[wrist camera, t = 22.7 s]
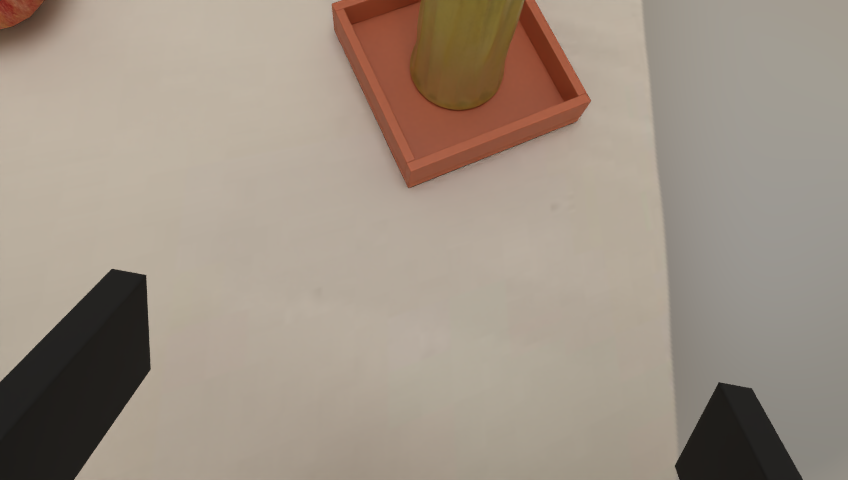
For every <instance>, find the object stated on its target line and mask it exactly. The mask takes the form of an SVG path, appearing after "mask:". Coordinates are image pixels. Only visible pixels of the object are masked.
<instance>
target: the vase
mask: <svg viewBox="0 0 848 480" xmlns="http://www.w3.org/2000/svg"><path fill="white" fill-rule="evenodd" d="M523 4H524V0H421V2H420V9H419V16H418V24H417V40H416V44H415V45H414V48H413V51H412V54H411V59H410V73H411V77H412V80H413V82H414V84H415V86H416V87H417V89H418V90H419V91H420V93H421V94H422V95H423V96H424V97H425V98H426V99H428V100H429V101H431V102H432V103H434V104H436V105H438V106H441V107H443V108H447V109H452V110H466V109H471V108H475V107H477V106H480V105H482V104H484V103H485V102H487V101H488V100H489V99H490V98H492V97H493V96H494V95H495V94H496V92H497V91H498V89H499V87H500V84H501V82H502V79H503V75H504V66H505V60H506V56H507V53H508V49H509V46H510V43H511V41H512V38H513V35H514V33H515V30H516V27H517V23H518V20H519V17H520V14H521V10H522V7H523Z"/></svg>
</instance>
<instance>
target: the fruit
mask: <svg viewBox="0 0 848 480" xmlns="http://www.w3.org/2000/svg"><path fill="white" fill-rule="evenodd" d="M43 1H44V0H0V29H4V28H8V27H12V26H14V25H16V24H18V23H20V22H22V21H24V20H25V19H27V18H29V17H31V15H32V14H33V13H34V12H35V11H36V10H37V9H38V7H39V6H40V5H41V4H42V3H43Z"/></svg>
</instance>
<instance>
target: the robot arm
mask: <svg viewBox="0 0 848 480" xmlns="http://www.w3.org/2000/svg"><path fill="white" fill-rule="evenodd" d="M150 369H151V368H150V347H149V326H148V305H147V284H146V275H143V274H137V273H132V272H127V271H121V270H116V269H111V270H110V271H109V272H108V273H107V274H106V275H105V276H104V277H103V278H102V279H101V281H100V282H99V283H98V284H97V285H96V286H95V287H94V288H93V289H92V290H91V291H90V292H89V293H88V294H87V295H86V296H85V297H84V298H83V299H82V300H81V301H80V302H79V303H78V304H77V305H76V306H75V307H74V308H73V309H72V310H71V311H70V312H69V313H68V314H67V315H66V316H65V317H64V318H63V319H62V320H61V321H60V322H59V323H58V324H57V325H56V326H55V327H54V328H53V329H52V330H51V331H50V332H49V333H48V334H47V335H46V336H45V337H44V338H43V339H42V340H41V341H40V342H39V343H38V344H37V345H36V346H35V347H34V348H33V349H32V350H31V351H30V352H29V353H28V354H27V355H26V357H25V358H24V359H23V360H22V361H21V362H20V363H19V364H18V365H17V366H16V367H15V368H14V369H13V370H12V371H11V372H10V373H9V374H8V375H7V376H6V377H5V378H4V379H3V380H2V381H1V382H0V480H74V479H75V477H76V476H77V475H78V473H79V472H80V470H81V469H82V467H83V466H84V464H85V463H86V462H87V460H88V459H89V457H90V456H91V454H92V453H93V451H94V450H95V449H96V447H97V446H98V444H99V443H100V441H101V440H102V439H103V437H104V436H105V434H106V433H107V431H108V430H109V428H110V427H111V426H112V424H113V423H114V421H115V420H116V418H117V417H118V415H119V414H120V413H121V411H122V410H123V408H124V407H125V405H126V404H127V403H128V401H129V400H130V398H131V397H132V395H133V394H134V392H135V391H136V390H137V388H138V387H139V385H140V384H141V382H142V381H143V379H144V378H145V377H146V375H147V374H148V372H149V371H150ZM675 468H676V471H677V474H678V477H679V479H680V480H803V479H802V477H801V475H800V474H799V472H798V471H797V469H796V467H795V465H794V463H793V461H792V459H791V458H790V456H789V454H788V452H787V451H786V449H785V447H784V445H783V443H782V442H781V440H780V438H779V436H778V434H777V433H776V431H775V429H774V427H773V425H772V424H771V422H770V420H769V419H768V417H767V415H766V413H765V412H764V409H763V408H762V406H761V404H760V402H759V401H758V399H757V397H756V395H755V393H754V392H753V390H752V388H746V387H741V386H736V385H730V384H725V383H720V382H719V383H718V385H717V387H716V389H715V391H714V393H713V395H712V396H711V398H710V400H709V402H708V404H707V406H706V408H705V410H704V412H703V414H702V415H701V417H700V419H699V421H698V423H697V425H696V427H695V429H694V431H693V433H692V434H691V436H690V438H689V440H688V442H687V444H686V446H685V448H684V450H683V452H682V453H681V455H680V457H679V459H678V461H677V463H676V465H675Z"/></svg>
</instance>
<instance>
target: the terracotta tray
mask: <svg viewBox="0 0 848 480" xmlns="http://www.w3.org/2000/svg"><path fill="white" fill-rule="evenodd" d="M420 2H421V0H342V1H339V2H336V3H333V4H332V11H333V21H334V30H335V32H336V34H337V37H338V39H339V41H340V43H341V45H342V47H343V49H344V52H345V54H346V56H347V58H348V60H349V62H350V64H351V67H352V69H353V71H354V73H355V75H356V77H357V79H358V82H359V84H360V86H361V88H362V90H363V92H364V94H365V96H366V99H367V101H368V103H369V105H370V107H371V109H372V111H373V114H374V116H375V118H376V120H377V122H378V124H379V126H380V129H381V131H382V133H383V135H384V137H385V139H386V141H387V144H388V146H389V148H390V150H391V152H392V154H393V156H394V159H395V161H396V163H397V165H398V167H399V169H400V171H401V174H402V176H403V178H404V180H405V182H406V184H407V186H408V188H410V187H413V186H415V185H418V184H420V183H423V182H425V181H428V180H430V179H433V178H435V177H438V176H440V175H443V174H445V173H448V172H450V171H453V170H455V169H458V168H460V167H463V166H465V165H468V164H470V163H473V162H475V161H478V160H481V159H483V158H486V157H488V156H491V155H493V154H496V153H498V152H501V151H503V150H506V149H508V148H511V147H513V146H516V145H518V144H521V143H523V142H526V141H528V140H531V139H533V138H536V137H538V136H541V135H543V134H546V133H548V132H551V131H553V130H556V129H558V128H561V127H564V126H566V125H569V124H571V123H574V122H576V121H577V120H578V119H579V117H580V116H581V115H582V113H583V112H584V111H585V109H586V108H587V106H588V105H589V103H590V102H591V100H590V98H589V96H588V94H587V93H586V91H585V89H584V87H583V86H582V84H581V82H580V80H579V78H578V77H577V75H576V73H575V71H574V70H573V68H572V66H571V64H570V62H569V61H568V59H567V57H566V55H565V53H564V52H563V50H562V48H561V46H560V45H559V43H558V41H557V39H556V37H555V36H554V34H553V32H552V30H551V28H550V27H549V25H548V23H547V21H546V20H545V18H544V16H543V14H542V12H541V11H540V9H539V7H538V5H537V3H536V2H535V0H524V4H523V7H522V10H521V14H520V17H519V20H518V23H517V27H516V30H515V33H514V35H513V38H512V41H511V43H510V46H509V49H508V53H507V56H506V60H505V66H504V75H503V79H502V82H501V84H500V87H499V89H498V91H497V92H496V94H495V95H494V96H493V97H492V98H490V99H489V100H488V101H487V102H485V103H484V104H482V105H480V106H477V107H475V108H471V109H466V110H452V109H447V108H443V107H441V106H438V105H436V104H434V103H432V102H431V101H429V100H428V99H426V98H425V97H424V96H423V95H422V94H421V93H420V91H419V90H418V89H417V87H416V86H415V84H414V82H413V80H412V77H411V73H410V59H411V54H412V51H413V48H414V45H415V44H416V40H417V24H418V16H419V9H420Z"/></svg>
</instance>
